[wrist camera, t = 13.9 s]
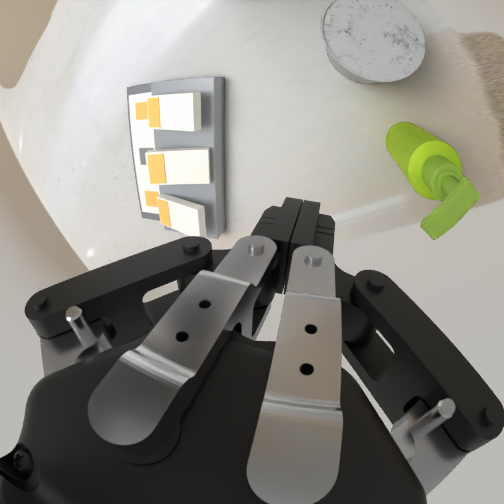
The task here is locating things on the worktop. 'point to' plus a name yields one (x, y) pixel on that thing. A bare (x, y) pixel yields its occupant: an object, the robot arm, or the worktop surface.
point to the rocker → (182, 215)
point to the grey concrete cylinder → (372, 40)
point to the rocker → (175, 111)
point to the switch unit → (171, 139)
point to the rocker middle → (178, 166)
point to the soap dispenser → (432, 175)
